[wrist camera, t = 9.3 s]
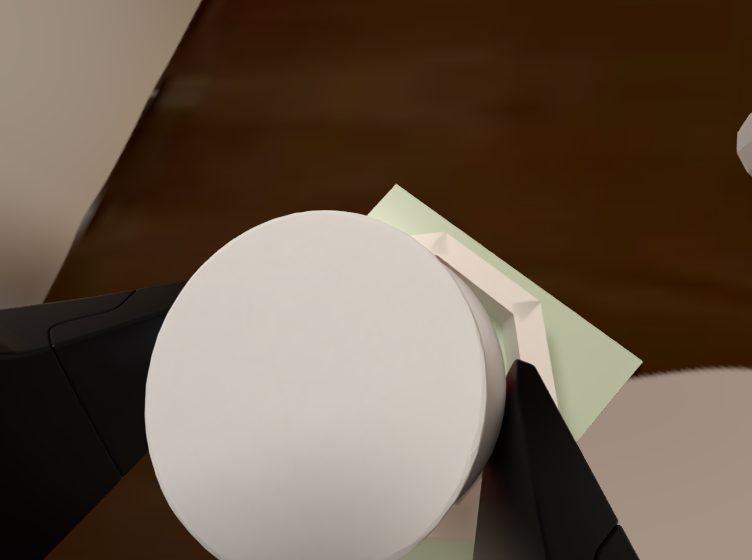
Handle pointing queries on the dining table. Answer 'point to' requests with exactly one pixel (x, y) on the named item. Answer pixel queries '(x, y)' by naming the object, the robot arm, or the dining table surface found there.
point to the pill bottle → (322, 392)
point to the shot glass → (745, 144)
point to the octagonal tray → (513, 347)
